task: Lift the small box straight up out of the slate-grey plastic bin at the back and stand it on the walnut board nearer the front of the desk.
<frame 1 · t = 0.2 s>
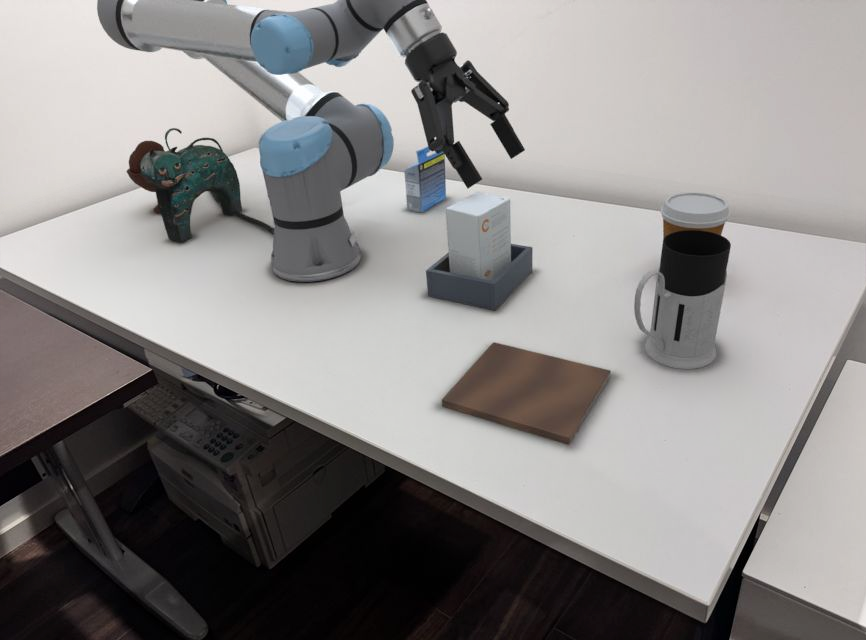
hand: (497, 169, 104), 16 cm above the table, tool tilted 35°, fingers open, 13 cm apart
board: (527, 391, 81), on the table
disposable coffee cup: (684, 278, 103), on the table
ceramic cat: (205, 227, 135), on the table
small box: (481, 282, 106), resting on bin
label tape box: (427, 205, 137), on the table
glass holder: (666, 358, 85), on the table
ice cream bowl: (167, 210, 145), on the table
bin: (481, 283, 106), on the table
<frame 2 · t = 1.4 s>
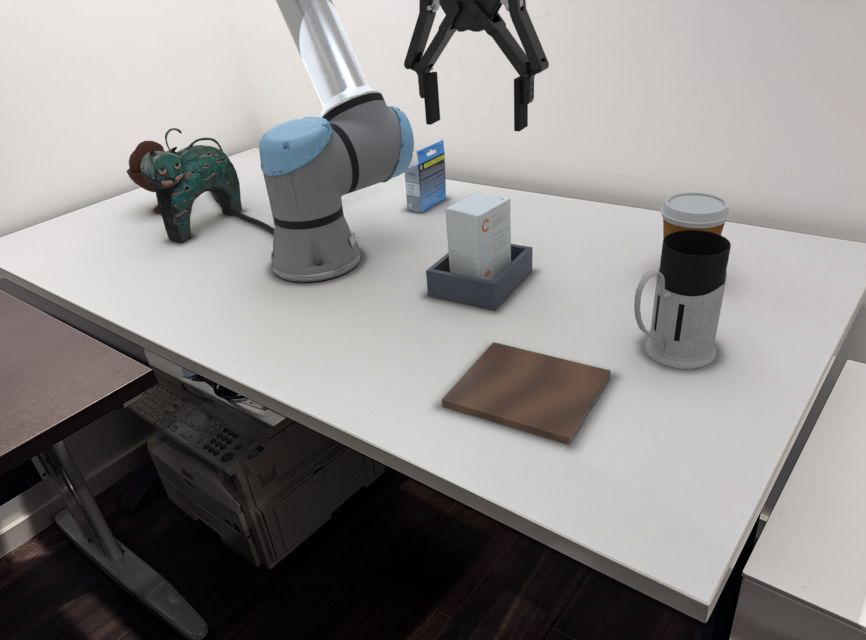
hand: (475, 125, 92), 25 cm above the table, tool pointing down, fingers open, 13 cm apart
nothing on the table moved.
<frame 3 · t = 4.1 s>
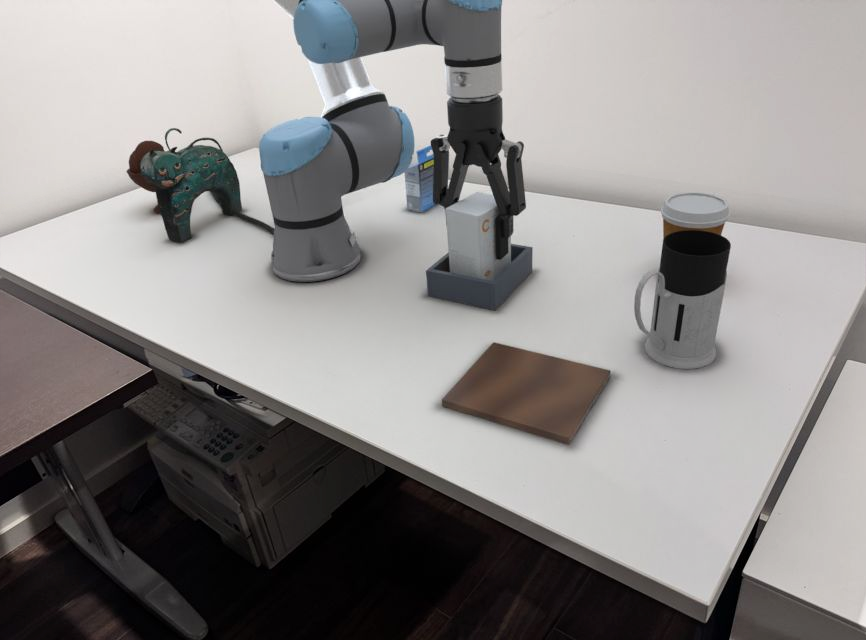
hand: (480, 251, 103), 6 cm above the table, tool pointing down, fingers closed on small box, 7 cm apart
small box: (481, 282, 106), resting on bin, touching gripper
everything else where it was.
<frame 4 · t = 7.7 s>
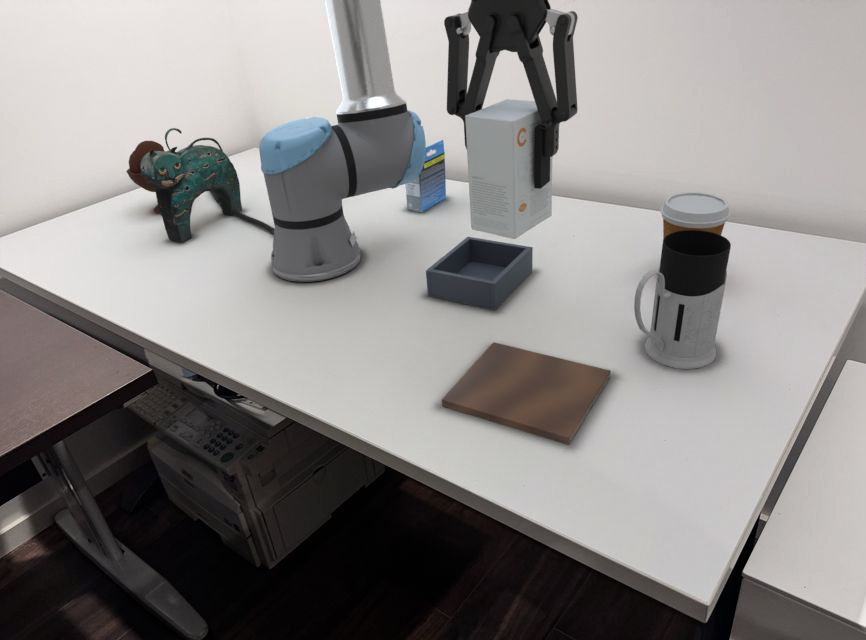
hand: (510, 180, 76), 23 cm above the table, tool pointing down, fingers closed on small box, 7 cm apart
small box: (511, 224, 79), point 18 cm above the table, touching gripper
everything else where it was.
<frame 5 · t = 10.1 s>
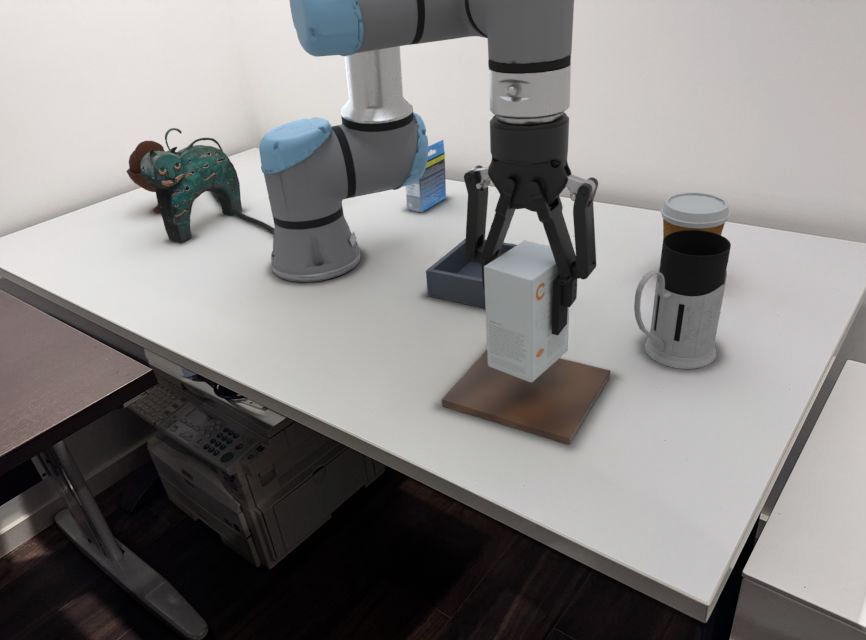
hand: (528, 321, 76), 10 cm above the table, tool pointing down, fingers closed on small box, 7 cm apart
small box: (527, 360, 79), point 5 cm above the table, touching gripper
everything else where it was.
when the fingers open (6 cm above the table, at t = 11.7 s): small box stays where it is, resting on board.
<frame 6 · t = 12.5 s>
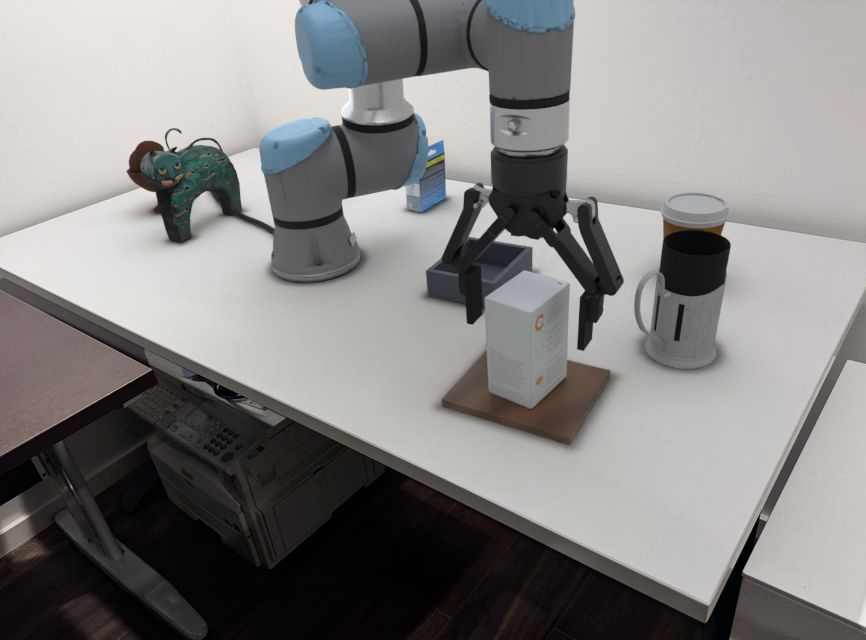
hand: (527, 331, 77), 9 cm above the table, tool pointing down, fingers open, 13 cm apart
small box: (527, 385, 81), point 1 cm above the table, touching board
everything else where it was.
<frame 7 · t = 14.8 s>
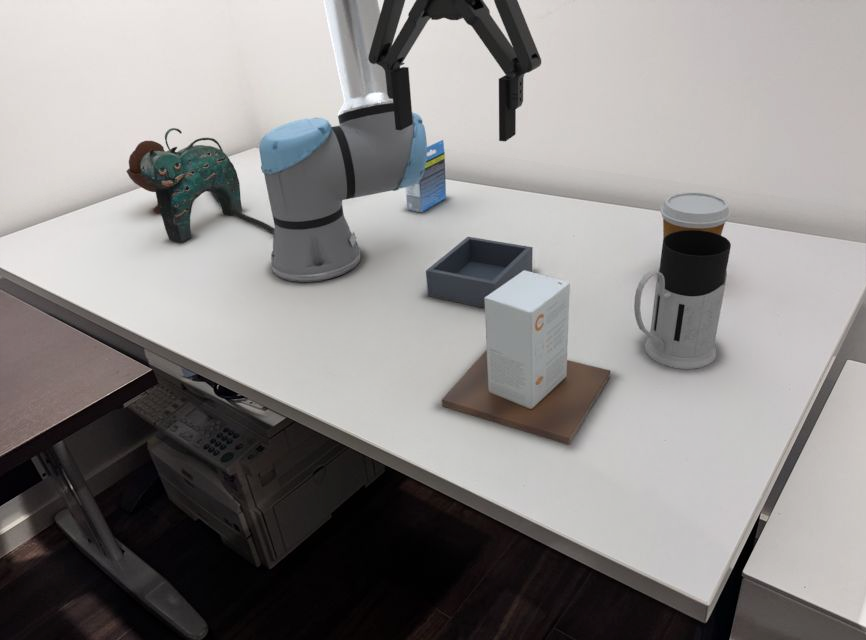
hand: (453, 132, 78), 28 cm above the table, tool pointing down, fingers open, 13 cm apart
nothing on the table moved.
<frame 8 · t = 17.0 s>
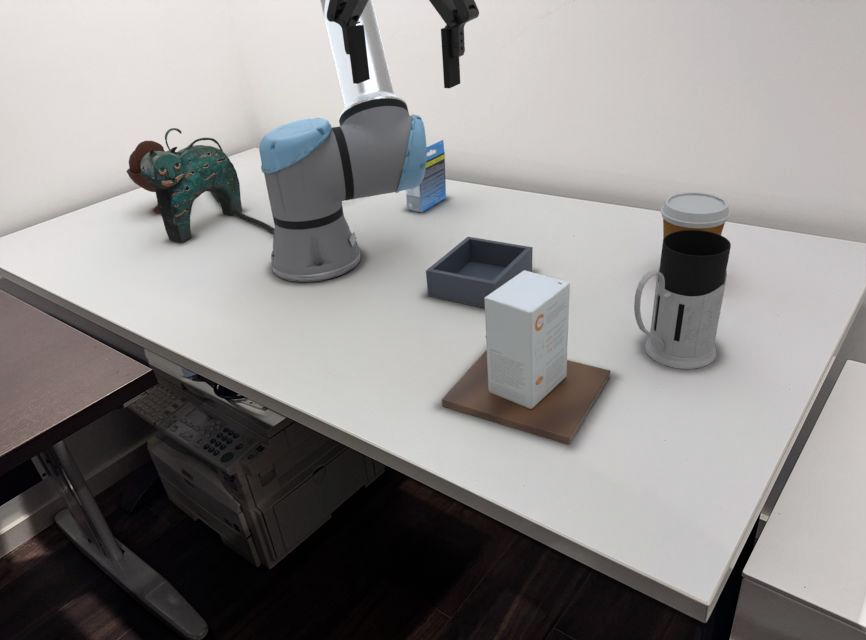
hand: (405, 83, 85), 32 cm above the table, tool pointing down, fingers open, 13 cm apart
nothing on the table moved.
at the end: small box inside the target area on the board (0.0 cm from its centre), point 0.8 cm above the board's base; small box tilted 0°; small box touching board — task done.
